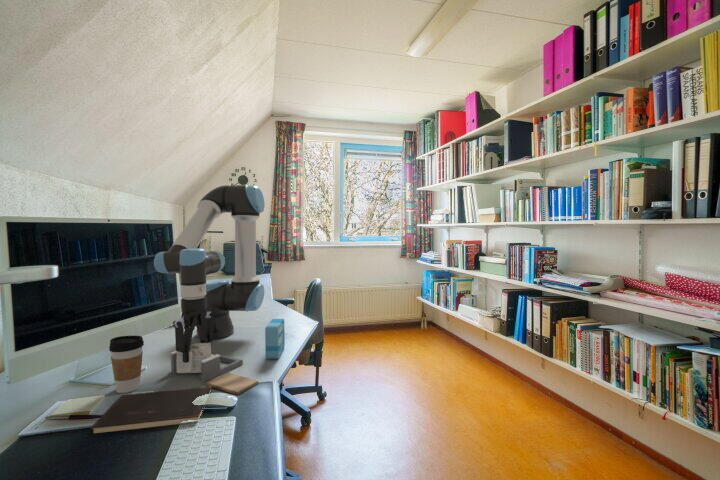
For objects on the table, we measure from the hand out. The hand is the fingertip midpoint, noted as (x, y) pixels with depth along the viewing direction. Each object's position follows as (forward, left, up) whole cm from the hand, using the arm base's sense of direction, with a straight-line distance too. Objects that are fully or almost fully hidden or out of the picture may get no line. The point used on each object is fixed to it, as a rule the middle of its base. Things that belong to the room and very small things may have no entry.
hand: (195, 368), depth 113 cm
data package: (+12, +25, -2) cm, 27 cm away
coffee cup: (-8, -16, -2) cm, 18 cm away
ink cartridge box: (0, 0, -1) cm, 1 cm away
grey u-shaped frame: (0, +4, -2) cm, 5 cm away
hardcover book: (+11, -20, -2) cm, 23 cm away
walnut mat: (+17, 0, -2) cm, 17 cm away
